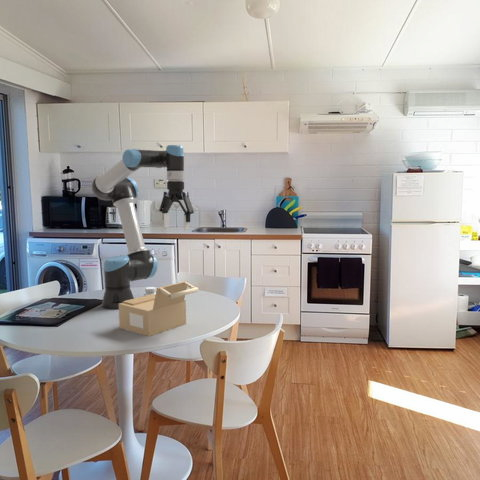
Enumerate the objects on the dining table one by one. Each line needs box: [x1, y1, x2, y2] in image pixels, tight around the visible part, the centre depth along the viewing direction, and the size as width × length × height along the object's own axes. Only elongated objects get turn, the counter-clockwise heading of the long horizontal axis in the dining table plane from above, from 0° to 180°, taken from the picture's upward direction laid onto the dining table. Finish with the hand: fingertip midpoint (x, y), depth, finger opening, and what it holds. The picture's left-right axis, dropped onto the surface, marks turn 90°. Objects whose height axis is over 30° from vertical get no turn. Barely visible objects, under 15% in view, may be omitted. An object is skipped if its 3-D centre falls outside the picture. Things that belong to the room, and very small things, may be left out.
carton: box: [118, 294, 187, 337], centre depth 189 cm, size 18×20×11 cm
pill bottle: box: [143, 286, 157, 296], centre depth 207 cm, size 6×6×12 cm
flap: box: [153, 280, 199, 310], centre depth 179 cm, size 10×16×8 cm
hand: (176, 228), depth 206 cm, fingers open, 13 cm apart
